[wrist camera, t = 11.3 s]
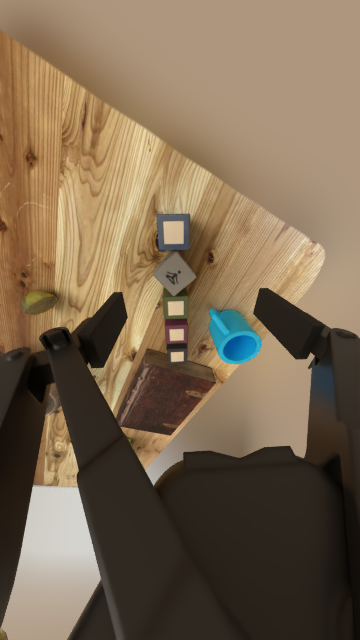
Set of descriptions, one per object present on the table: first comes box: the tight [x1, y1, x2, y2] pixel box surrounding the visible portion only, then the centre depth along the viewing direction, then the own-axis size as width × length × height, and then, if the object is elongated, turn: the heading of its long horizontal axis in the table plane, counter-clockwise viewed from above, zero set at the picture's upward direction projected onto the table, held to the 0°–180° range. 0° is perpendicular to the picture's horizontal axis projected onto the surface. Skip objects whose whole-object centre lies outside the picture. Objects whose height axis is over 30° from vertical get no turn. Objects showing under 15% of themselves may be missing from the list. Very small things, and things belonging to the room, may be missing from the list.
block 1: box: [157, 214, 190, 250], centre depth 24 cm, size 4×4×5 cm
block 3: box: [165, 318, 188, 344], centre depth 33 cm, size 4×4×5 cm
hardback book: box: [116, 349, 216, 435], centre depth 45 cm, size 29×19×5 cm, turn 155°
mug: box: [209, 308, 261, 364], centre depth 32 cm, size 12×8×8 cm
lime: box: [21, 290, 57, 315], centre depth 29 cm, size 4×5×5 cm
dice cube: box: [153, 250, 196, 296], centre depth 27 cm, size 5×5×5 cm
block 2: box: [163, 288, 188, 319], centre depth 30 cm, size 4×4×5 cm
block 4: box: [167, 343, 187, 364], centre depth 36 cm, size 4×4×5 cm
